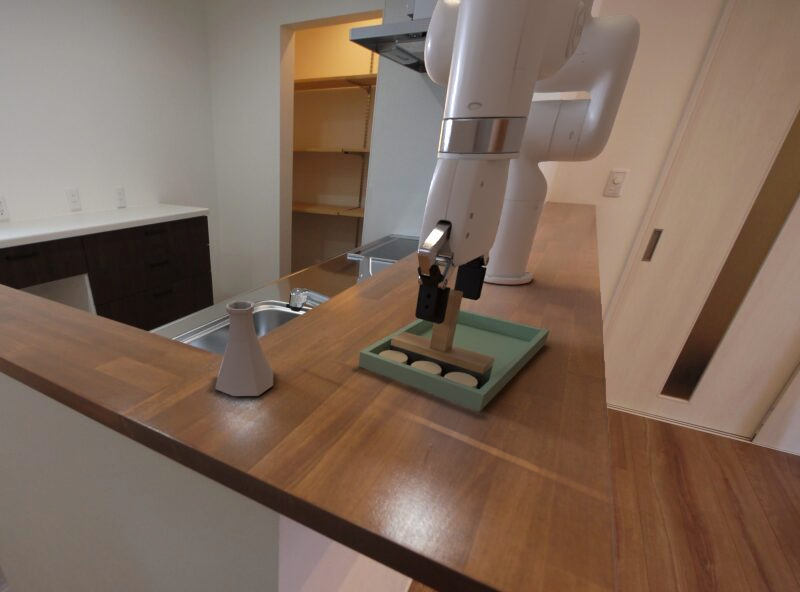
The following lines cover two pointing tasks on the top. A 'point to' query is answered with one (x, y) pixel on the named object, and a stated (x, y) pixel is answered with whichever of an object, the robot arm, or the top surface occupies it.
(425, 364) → the crumb
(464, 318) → the tray
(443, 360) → the brush
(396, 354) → the crumb
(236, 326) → the flask
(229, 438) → the top surface
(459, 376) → the crumb
